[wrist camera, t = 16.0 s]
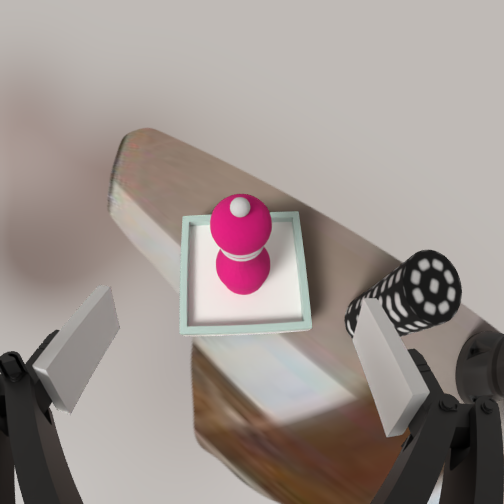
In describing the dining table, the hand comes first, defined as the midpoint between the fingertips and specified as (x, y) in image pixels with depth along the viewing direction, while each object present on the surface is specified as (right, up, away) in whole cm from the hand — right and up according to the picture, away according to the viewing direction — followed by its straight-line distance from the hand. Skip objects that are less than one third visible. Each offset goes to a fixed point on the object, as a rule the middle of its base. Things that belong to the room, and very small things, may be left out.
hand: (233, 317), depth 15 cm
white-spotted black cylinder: (+20, -8, +31) cm, 38 cm away
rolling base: (0, -1, +33) cm, 33 cm away
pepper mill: (0, 0, +29) cm, 29 cm away
